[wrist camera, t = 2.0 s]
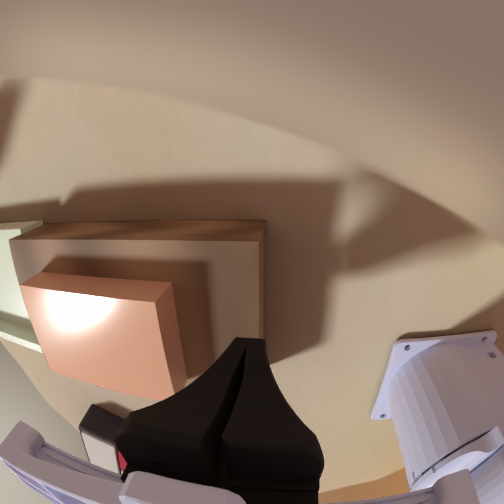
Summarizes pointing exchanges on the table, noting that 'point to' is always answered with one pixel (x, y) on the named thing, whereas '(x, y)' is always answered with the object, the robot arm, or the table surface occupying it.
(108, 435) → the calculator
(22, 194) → the table surface
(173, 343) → the tile
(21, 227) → the tray
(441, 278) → the table surface
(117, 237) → the brown wooden block
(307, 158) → the table surface
